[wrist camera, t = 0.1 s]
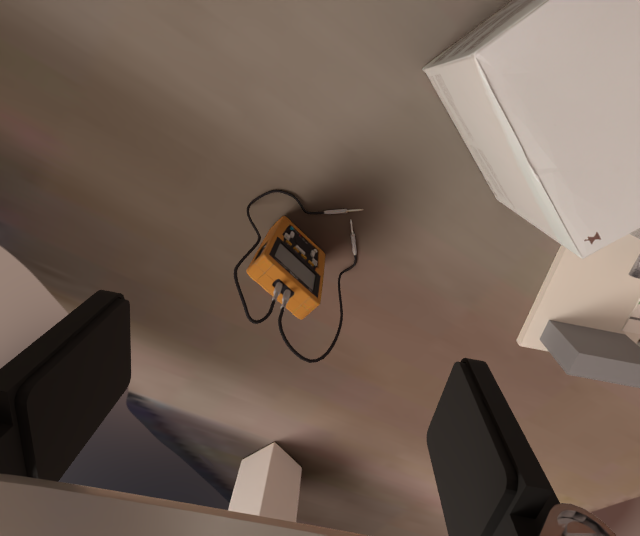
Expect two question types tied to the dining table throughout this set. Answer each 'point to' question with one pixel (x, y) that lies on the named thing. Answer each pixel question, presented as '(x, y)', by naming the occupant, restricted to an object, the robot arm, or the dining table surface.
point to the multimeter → (291, 270)
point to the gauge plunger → (636, 271)
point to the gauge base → (590, 314)
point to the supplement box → (553, 114)
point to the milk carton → (268, 485)
